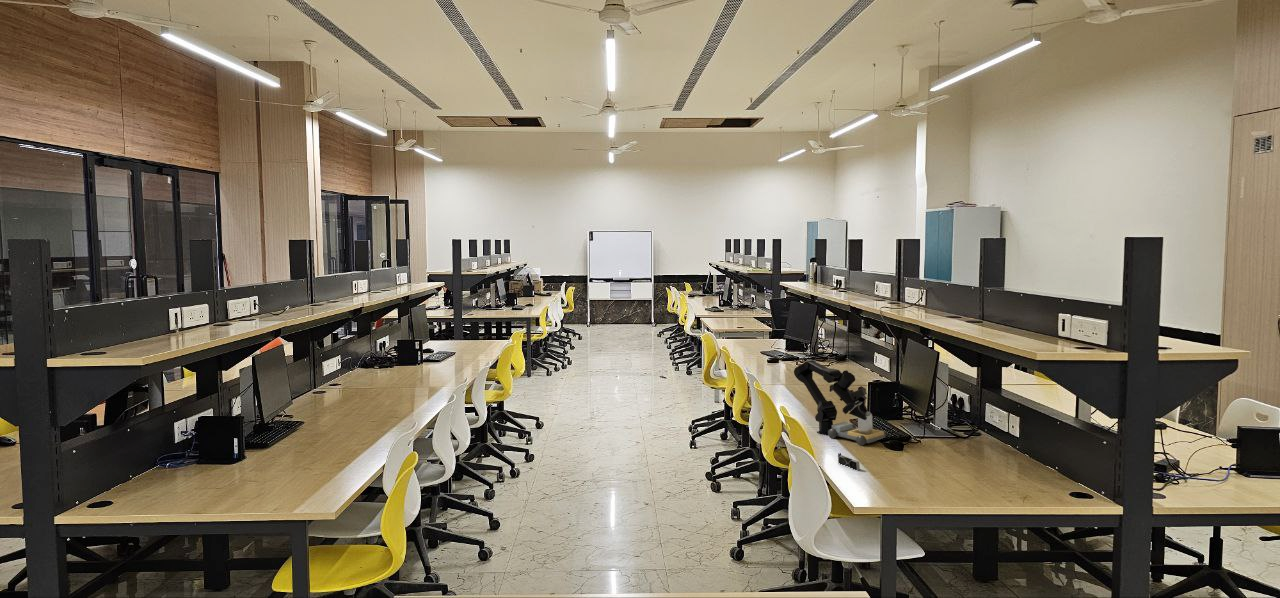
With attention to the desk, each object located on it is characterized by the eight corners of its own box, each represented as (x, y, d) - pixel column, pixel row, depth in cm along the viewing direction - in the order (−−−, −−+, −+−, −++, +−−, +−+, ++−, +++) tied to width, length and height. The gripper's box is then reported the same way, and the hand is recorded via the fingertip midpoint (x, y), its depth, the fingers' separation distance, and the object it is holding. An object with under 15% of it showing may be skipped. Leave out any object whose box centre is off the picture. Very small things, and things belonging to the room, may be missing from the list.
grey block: (858, 434, 327) (857, 413, 326) (862, 431, 331) (861, 410, 330) (869, 435, 324) (868, 414, 323) (872, 432, 328) (871, 411, 327)
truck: (826, 437, 338) (826, 426, 337) (848, 431, 346) (847, 420, 345) (865, 446, 318) (864, 434, 318) (887, 440, 326) (886, 428, 326)
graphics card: (838, 465, 297) (835, 454, 296) (842, 462, 298) (839, 451, 297) (857, 472, 286) (854, 461, 285) (861, 469, 287) (858, 458, 286)
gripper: (848, 385, 320) (873, 411, 314) (862, 378, 335) (886, 402, 329) (832, 401, 325) (856, 427, 320) (846, 393, 340) (870, 417, 335)
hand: (867, 418), depth 326 cm, fingers open, 5 cm apart
